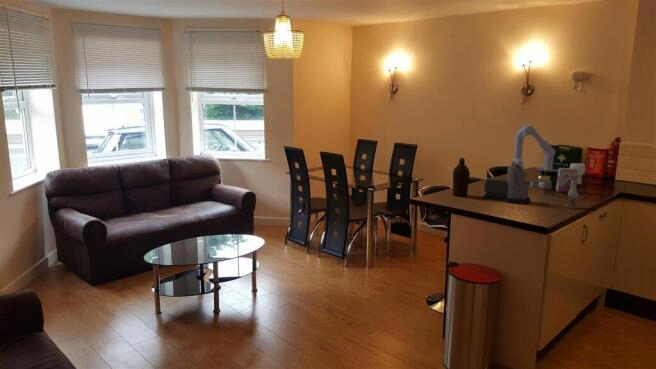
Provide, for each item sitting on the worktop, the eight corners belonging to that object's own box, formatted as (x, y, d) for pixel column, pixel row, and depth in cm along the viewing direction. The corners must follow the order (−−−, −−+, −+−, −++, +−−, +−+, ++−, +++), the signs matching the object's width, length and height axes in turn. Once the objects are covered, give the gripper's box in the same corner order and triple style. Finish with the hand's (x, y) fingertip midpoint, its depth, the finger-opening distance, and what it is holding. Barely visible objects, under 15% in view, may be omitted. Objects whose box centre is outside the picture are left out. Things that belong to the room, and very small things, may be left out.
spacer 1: (537, 183, 369) (538, 176, 368) (537, 182, 374) (538, 175, 373) (544, 183, 367) (545, 176, 366) (544, 182, 372) (545, 175, 371)
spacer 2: (543, 183, 386) (544, 176, 385) (543, 182, 391) (543, 175, 390) (550, 183, 385) (551, 177, 384) (550, 182, 390) (550, 176, 389)
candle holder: (574, 205, 311) (578, 173, 308) (582, 208, 303) (586, 175, 299) (560, 205, 311) (564, 172, 307) (568, 208, 303) (571, 175, 299)
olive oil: (458, 197, 329) (461, 159, 324) (448, 194, 338) (450, 157, 334) (471, 196, 334) (474, 158, 329) (460, 193, 343) (463, 156, 338)
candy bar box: (558, 192, 353) (560, 168, 349) (555, 190, 357) (558, 167, 354) (574, 192, 351) (577, 169, 348) (572, 191, 356) (574, 168, 353)
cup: (586, 184, 382) (588, 165, 379) (571, 184, 382) (574, 164, 379) (579, 182, 392) (581, 163, 390) (565, 182, 393) (567, 162, 390)
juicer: (534, 201, 322) (537, 163, 318) (528, 205, 309) (532, 166, 305) (487, 195, 339) (489, 159, 334) (479, 199, 326) (482, 161, 321)
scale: (531, 188, 366) (532, 181, 365) (530, 183, 382) (530, 177, 381) (551, 189, 362) (552, 182, 361) (548, 185, 378) (549, 178, 377)
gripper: (558, 163, 387) (556, 180, 389) (538, 162, 391) (536, 179, 394) (559, 164, 380) (557, 182, 383) (538, 163, 385) (537, 180, 387)
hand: (547, 180), depth 388 cm, fingers closed on spacer 2, 5 cm apart
